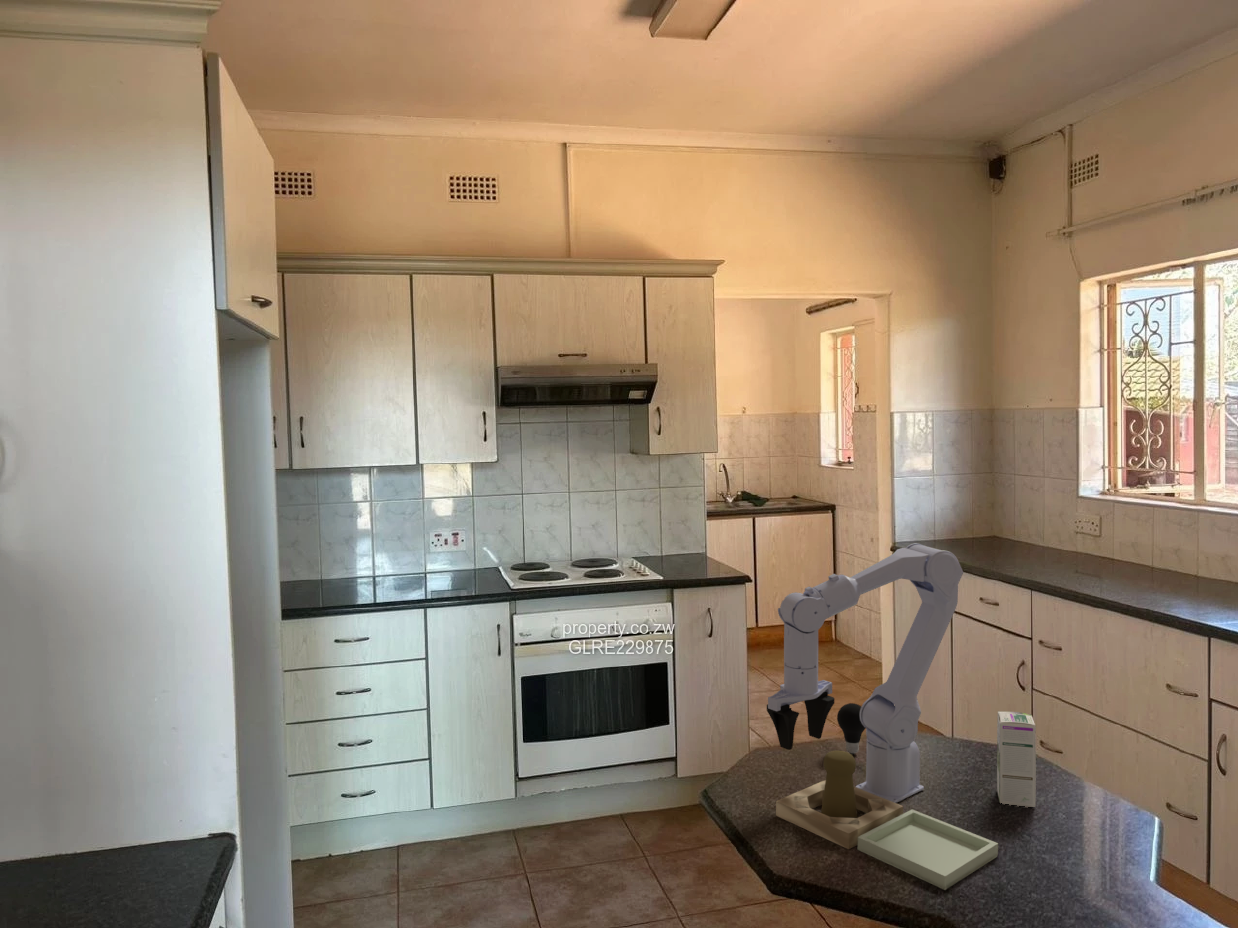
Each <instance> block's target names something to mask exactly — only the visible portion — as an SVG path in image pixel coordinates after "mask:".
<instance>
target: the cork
mask: <svg viewBox="0 0 1238 928" xmlns="http://www.w3.org/2000/svg"><path fill="white" fill-rule="evenodd" d="M822 763H823V768H824V770H825V772H826V774H825V780H826V782H825V789H824V796H823V803H822V805H821V811H820V813H822V814H825V815H827V816H829V817H841V818H858V817H859V816H858V809H857V808H856V800H855V792H854V787H855V785H854V778H853V777H854V776H853V774H854V773H855V771H856V766H857V762H856V759H855V756H853V755H852V754H850V753H849V752H848V751H844V750H831V751H828V752H827V753H826V754H825V755H824V757H823V762H822Z"/></svg>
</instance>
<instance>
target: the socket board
mask: <svg viewBox="0 0 1238 928" xmlns="http://www.w3.org/2000/svg"><path fill="white" fill-rule="evenodd" d="M825 782H826V779H824V780H821V781H820V782H817V783H815V784H813V785H810V786H808V787H806V788H804V789H801V790H799V791H796V792H794V793H791V794H790V795H787V796H785V797H782V798H780V799H778V800H777V799H776V802H775V816H776V817H778V818H780V819H782V820H785V821H787V822H789V823H792V824H793V825H794V826H798V827H800V828H803V829H805V830H807V831H808V832H810V833H812V834H815V835H817V836H819V837H821V838H824V839H825V840H828V841H830V842H832V843H834V844H836V845H838V846H840V847H843V848H845V849H847V850H851V849H852V848H854V847H856V846H858V837H859V836H861V835H863V834H865V833H867V832H869V831H871V830H873V829H875V828H876V827H878V826H880V825H882V824H884V823H886V822H888V821H890V820H892V819H894V818H896V817H898V816H900V815H902V814H904V805H901V804H899V803H898V802H897V803H894V802H892V801H889V800H887V799H884V798H881V797H879V796H876V795H874V794H871V793H869V792H866V791H864V790H861V789H859V788H856V786H854V792H855V800H856V808H857V811H861V812H862V813H864V814H862V815H861V816H858V818H841V817H829V816H827V815H825V814H822V813H821V811H817V810H815V809H816V808H817V807H820V806H822V803H823V796H824V789H825Z"/></svg>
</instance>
